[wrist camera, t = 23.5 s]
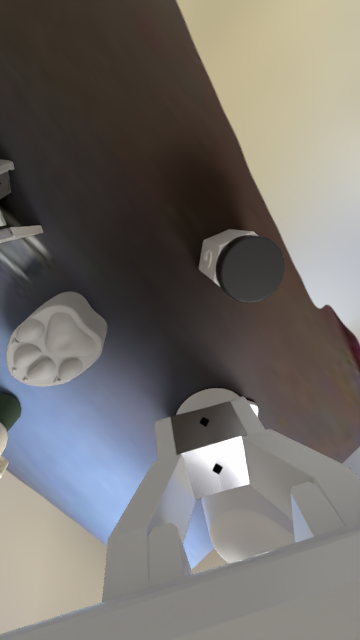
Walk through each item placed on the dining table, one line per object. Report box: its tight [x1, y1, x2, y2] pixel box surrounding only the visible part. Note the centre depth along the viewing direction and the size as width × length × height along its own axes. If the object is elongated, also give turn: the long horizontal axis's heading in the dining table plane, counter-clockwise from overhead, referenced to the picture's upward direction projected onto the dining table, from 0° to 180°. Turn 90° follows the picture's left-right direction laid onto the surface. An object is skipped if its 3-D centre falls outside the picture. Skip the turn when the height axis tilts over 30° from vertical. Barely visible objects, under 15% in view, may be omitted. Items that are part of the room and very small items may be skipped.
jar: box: [199, 229, 285, 303], centre depth 40 cm, size 9×8×12 cm
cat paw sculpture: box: [6, 292, 107, 386], centre depth 41 cm, size 10×13×9 cm
